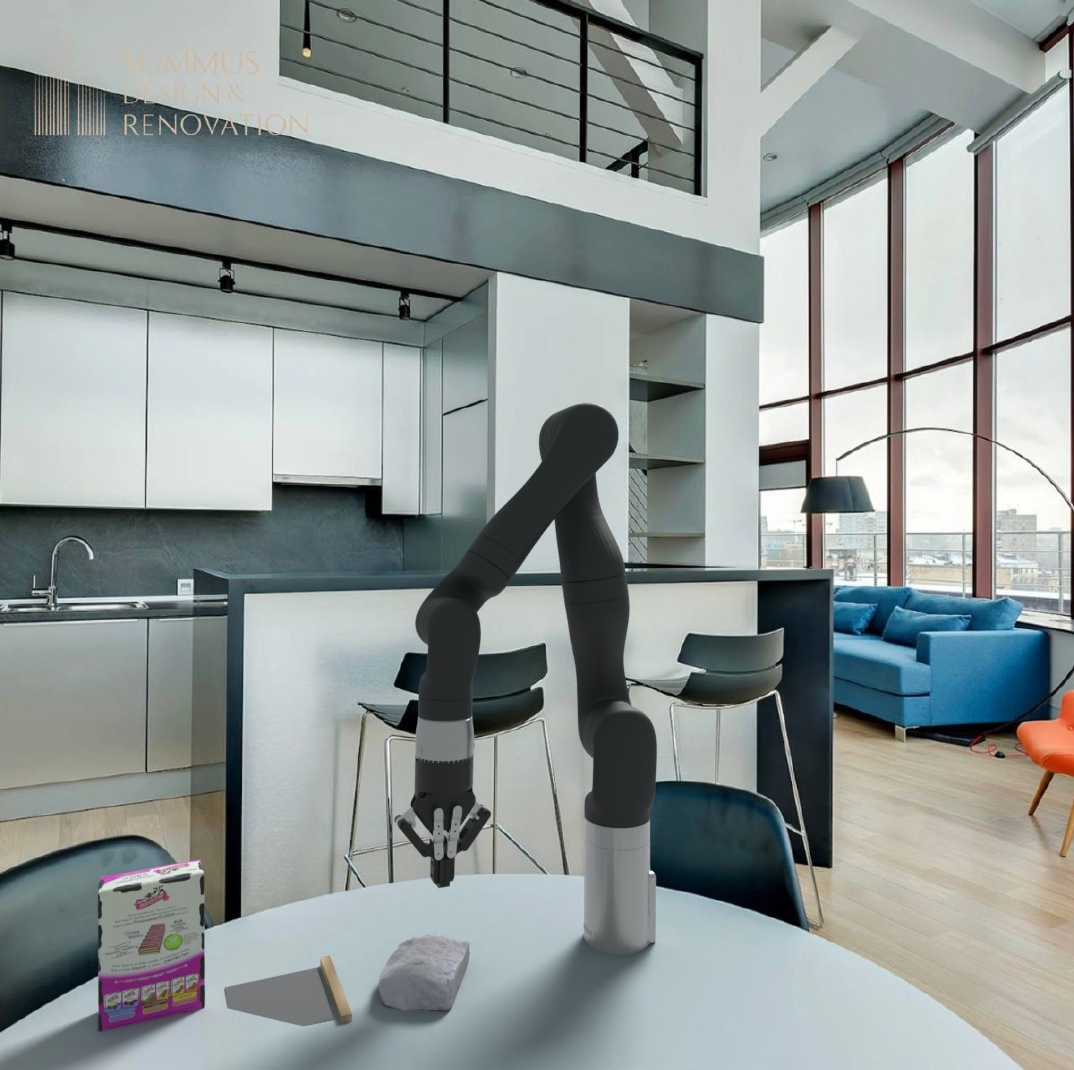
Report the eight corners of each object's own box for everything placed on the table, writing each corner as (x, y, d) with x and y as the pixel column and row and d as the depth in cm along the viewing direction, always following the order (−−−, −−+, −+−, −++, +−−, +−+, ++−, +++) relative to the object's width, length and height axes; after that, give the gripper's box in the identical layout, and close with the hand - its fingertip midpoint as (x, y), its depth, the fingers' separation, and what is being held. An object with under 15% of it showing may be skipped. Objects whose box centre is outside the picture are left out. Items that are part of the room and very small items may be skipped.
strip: (329, 964, 103) (329, 955, 103) (351, 1024, 91) (351, 1013, 91) (320, 966, 103) (320, 957, 103) (341, 1026, 90) (341, 1016, 90)
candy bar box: (201, 991, 97) (203, 856, 97) (205, 1012, 93) (206, 872, 93) (97, 1015, 92) (98, 874, 92) (96, 1040, 88) (97, 891, 88)
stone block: (375, 1023, 93) (457, 1013, 92) (368, 982, 93) (450, 971, 92) (402, 972, 105) (475, 962, 104) (396, 935, 105) (469, 925, 104)
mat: (316, 971, 102) (316, 967, 102) (334, 1023, 91) (334, 1018, 91) (224, 991, 97) (224, 987, 97) (231, 1048, 86) (231, 1043, 86)
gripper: (482, 739, 109) (479, 866, 109) (387, 748, 103) (384, 881, 103) (502, 753, 102) (500, 888, 102) (402, 763, 97) (399, 906, 96)
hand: (441, 884), depth 103 cm, fingers closed
